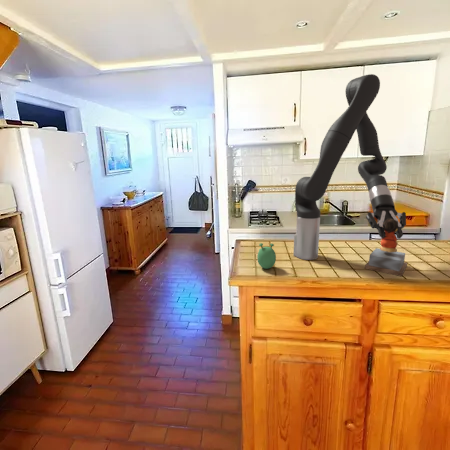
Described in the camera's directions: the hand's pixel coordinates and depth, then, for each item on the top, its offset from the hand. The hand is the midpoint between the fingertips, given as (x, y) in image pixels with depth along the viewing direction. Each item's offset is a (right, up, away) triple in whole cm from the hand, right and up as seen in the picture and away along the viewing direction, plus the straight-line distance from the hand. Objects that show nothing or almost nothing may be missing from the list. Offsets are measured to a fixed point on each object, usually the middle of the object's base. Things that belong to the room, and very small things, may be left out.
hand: (391, 237), depth 104 cm
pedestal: (0, -11, +5) cm, 12 cm away
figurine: (0, -5, +3) cm, 6 cm away
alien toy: (-44, -12, +7) cm, 47 cm away
